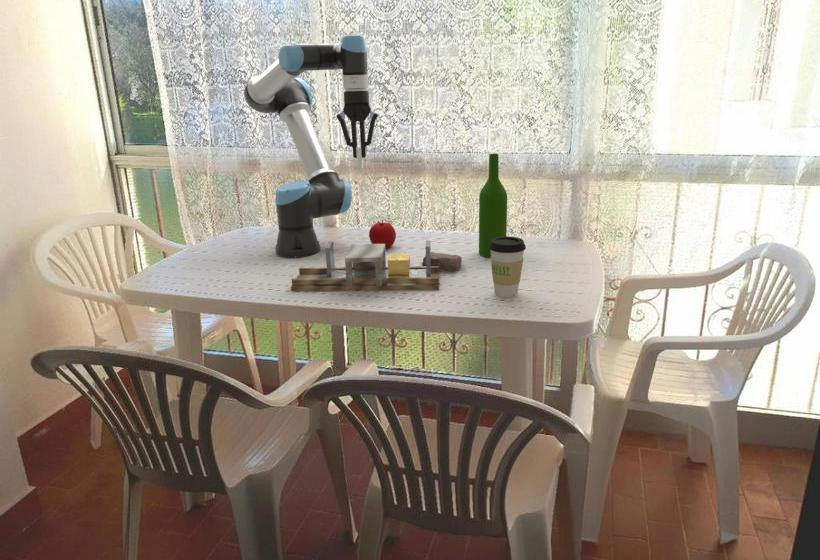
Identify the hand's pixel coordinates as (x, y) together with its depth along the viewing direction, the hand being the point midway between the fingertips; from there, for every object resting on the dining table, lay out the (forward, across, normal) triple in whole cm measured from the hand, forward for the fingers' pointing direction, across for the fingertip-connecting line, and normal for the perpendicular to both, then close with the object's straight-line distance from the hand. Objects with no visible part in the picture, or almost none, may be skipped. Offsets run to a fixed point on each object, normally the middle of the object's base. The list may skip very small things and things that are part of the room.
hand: (360, 168), depth 197 cm
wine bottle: (+30, +42, +2) cm, 51 cm away
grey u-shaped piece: (+28, +7, -24) cm, 37 cm away
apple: (+30, +5, +12) cm, 33 cm away
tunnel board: (+29, +4, -24) cm, 38 cm away
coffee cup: (+30, +43, -34) cm, 63 cm away
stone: (+30, +25, -11) cm, 41 cm away
